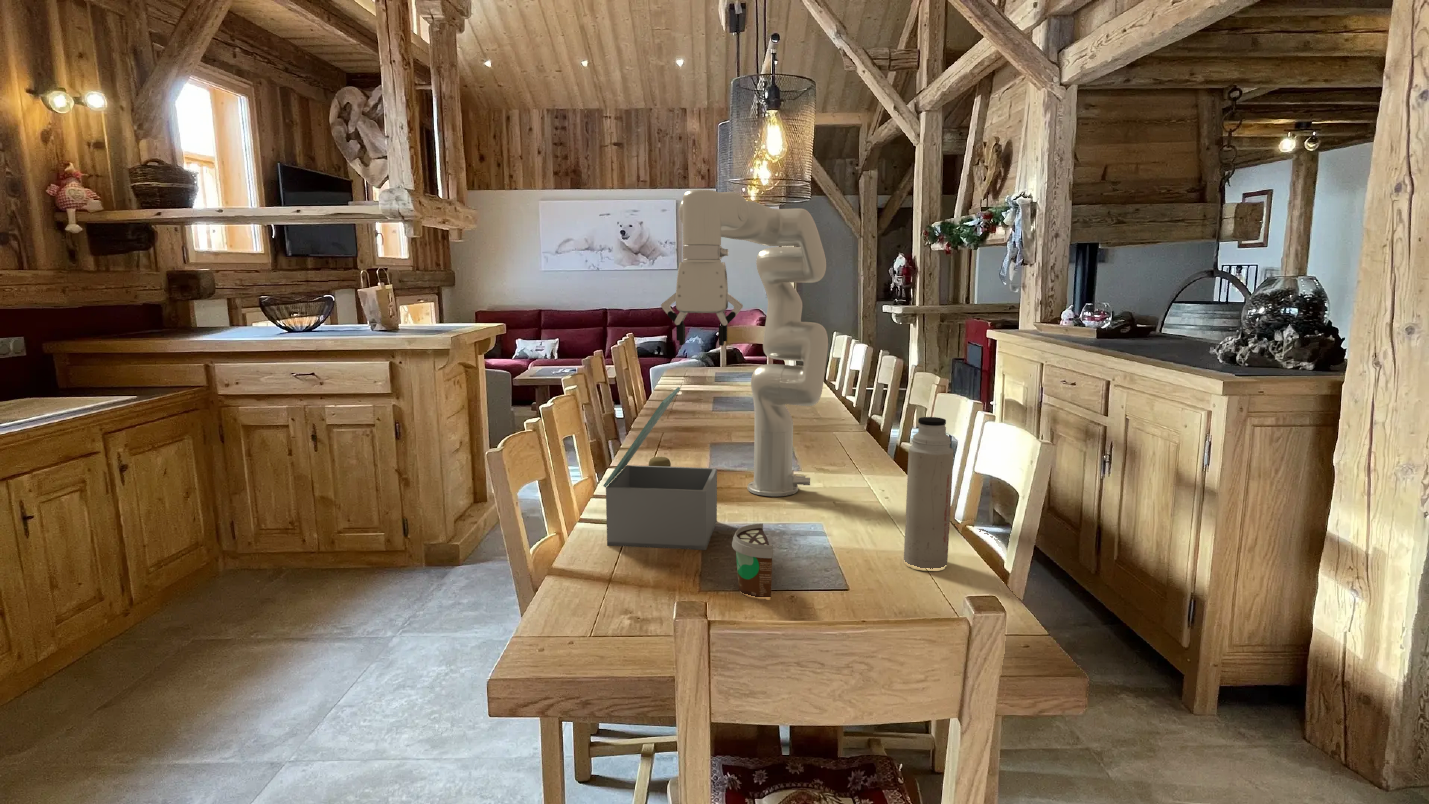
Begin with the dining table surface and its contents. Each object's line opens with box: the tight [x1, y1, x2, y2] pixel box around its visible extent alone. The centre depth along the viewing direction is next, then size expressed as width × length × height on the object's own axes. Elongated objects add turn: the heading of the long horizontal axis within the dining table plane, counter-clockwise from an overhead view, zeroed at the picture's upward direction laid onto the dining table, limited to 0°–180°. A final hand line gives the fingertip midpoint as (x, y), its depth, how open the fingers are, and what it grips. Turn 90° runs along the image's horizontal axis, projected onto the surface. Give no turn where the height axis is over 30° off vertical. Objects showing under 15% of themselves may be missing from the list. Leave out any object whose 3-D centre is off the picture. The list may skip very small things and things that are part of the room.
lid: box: [602, 386, 681, 489], centre depth 163 cm, size 21×19×1 cm
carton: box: [605, 464, 718, 551], centre depth 165 cm, size 20×18×12 cm
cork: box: [648, 456, 672, 467], centre depth 186 cm, size 6×6×11 cm
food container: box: [731, 523, 774, 598], centre depth 136 cm, size 12×6×10 cm, turn 5°
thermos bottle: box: [903, 416, 955, 569], centre depth 146 cm, size 8×8×28 cm
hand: (701, 344), depth 158 cm, fingers open, 7 cm apart
